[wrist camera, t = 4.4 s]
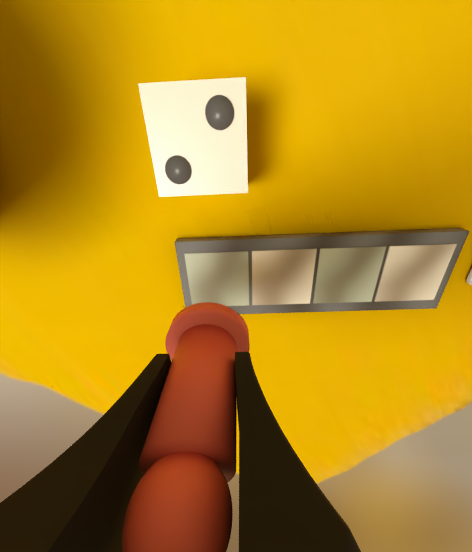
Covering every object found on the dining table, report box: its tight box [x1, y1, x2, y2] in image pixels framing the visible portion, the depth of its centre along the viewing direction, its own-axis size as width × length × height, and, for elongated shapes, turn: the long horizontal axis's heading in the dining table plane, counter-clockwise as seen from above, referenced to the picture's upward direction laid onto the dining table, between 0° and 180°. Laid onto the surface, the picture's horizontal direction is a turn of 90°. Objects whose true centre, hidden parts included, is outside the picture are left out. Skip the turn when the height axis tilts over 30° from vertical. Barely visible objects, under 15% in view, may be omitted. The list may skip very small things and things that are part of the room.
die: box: [138, 77, 248, 197], centre depth 14 cm, size 5×5×5 cm
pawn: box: [122, 302, 249, 552], centre depth 9 cm, size 5×5×9 cm
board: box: [175, 228, 469, 314], centre depth 20 cm, size 23×7×1 cm, turn 92°
